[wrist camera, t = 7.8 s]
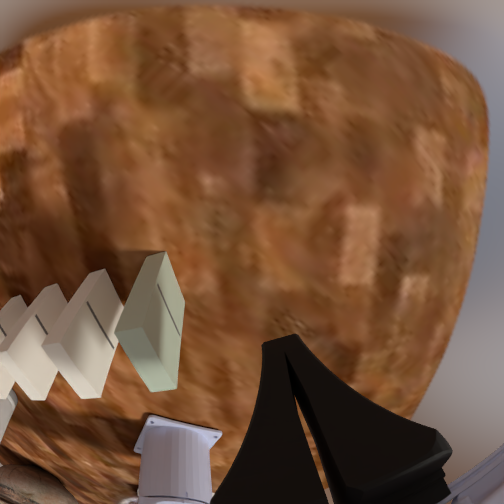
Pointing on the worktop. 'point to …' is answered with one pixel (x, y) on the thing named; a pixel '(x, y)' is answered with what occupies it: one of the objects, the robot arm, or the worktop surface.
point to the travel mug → (7, 410)
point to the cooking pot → (31, 486)
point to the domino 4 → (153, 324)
